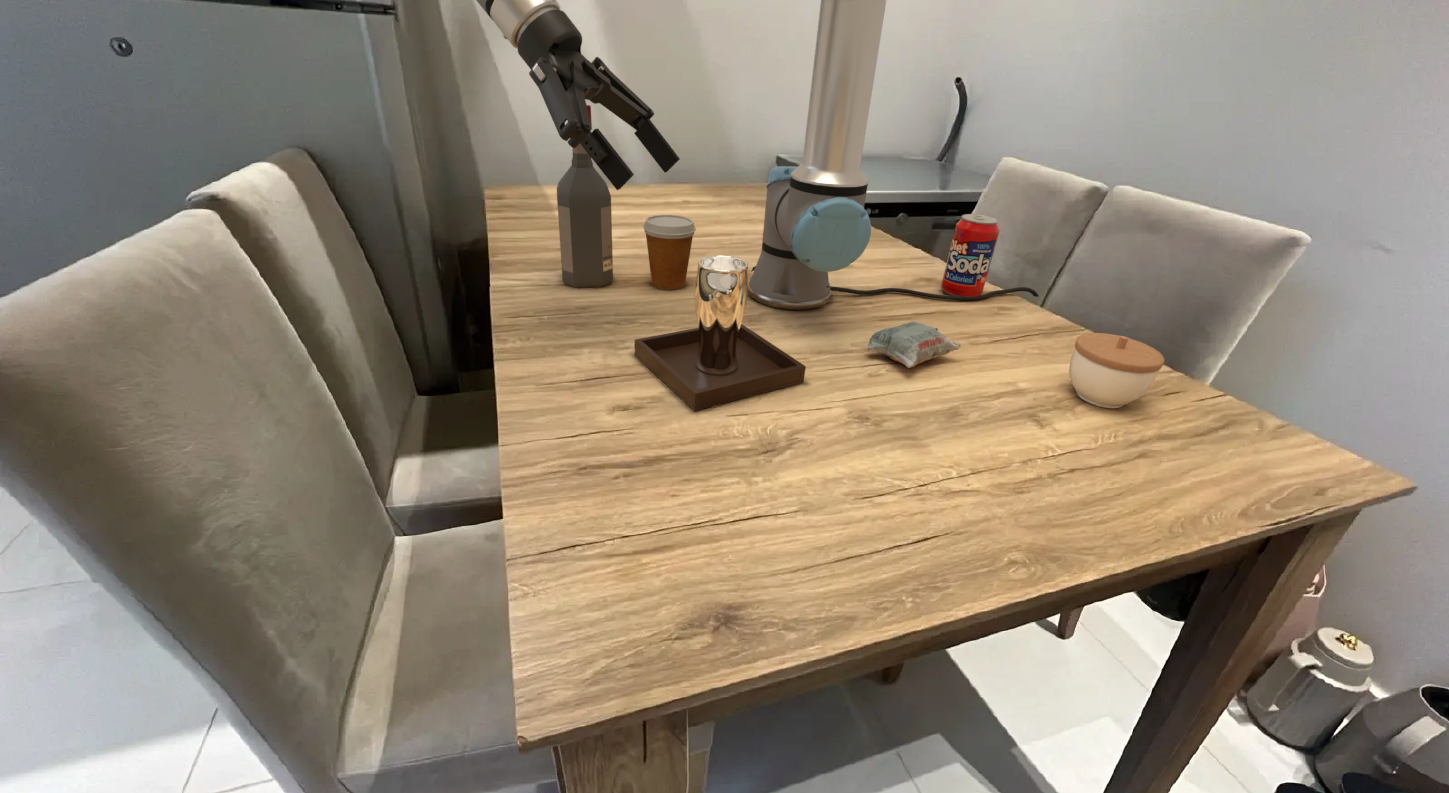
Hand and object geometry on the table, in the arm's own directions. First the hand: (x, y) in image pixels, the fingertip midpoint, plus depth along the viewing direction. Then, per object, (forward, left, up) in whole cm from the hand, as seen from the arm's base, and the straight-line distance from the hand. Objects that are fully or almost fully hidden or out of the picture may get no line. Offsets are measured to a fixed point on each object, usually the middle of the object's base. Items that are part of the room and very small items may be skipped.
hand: (650, 174), depth 80 cm
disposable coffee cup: (-17, -26, -26) cm, 40 cm away
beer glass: (-6, +8, -25) cm, 27 cm away
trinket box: (-52, +39, -26) cm, 70 cm away
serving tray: (-7, +8, -25) cm, 28 cm away
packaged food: (-36, +18, -26) cm, 48 cm away
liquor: (-4, -34, -26) cm, 42 cm away
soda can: (-68, +1, -26) cm, 72 cm away
